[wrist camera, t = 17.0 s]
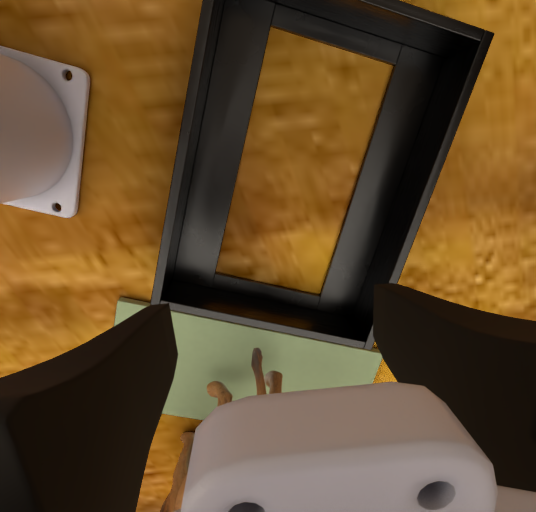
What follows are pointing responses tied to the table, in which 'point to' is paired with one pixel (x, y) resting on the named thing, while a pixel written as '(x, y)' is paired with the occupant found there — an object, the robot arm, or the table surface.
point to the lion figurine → (224, 396)
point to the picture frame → (370, 177)
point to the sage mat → (250, 360)
